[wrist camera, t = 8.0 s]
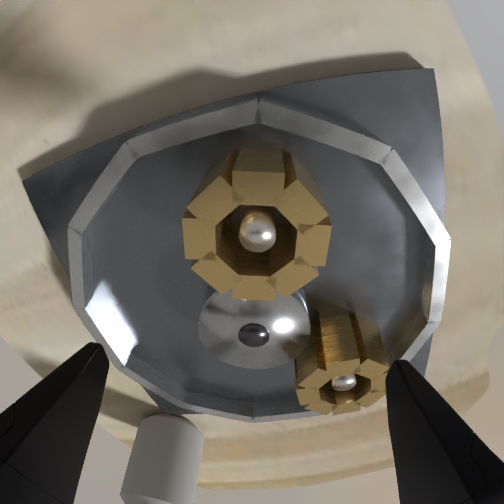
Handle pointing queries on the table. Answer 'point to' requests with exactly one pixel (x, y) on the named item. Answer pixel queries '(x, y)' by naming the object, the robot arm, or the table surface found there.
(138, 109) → the table surface
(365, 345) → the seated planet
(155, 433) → the can
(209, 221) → the hollow octagonal wooden tube
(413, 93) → the tray
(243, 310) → the domed metal knob cap
